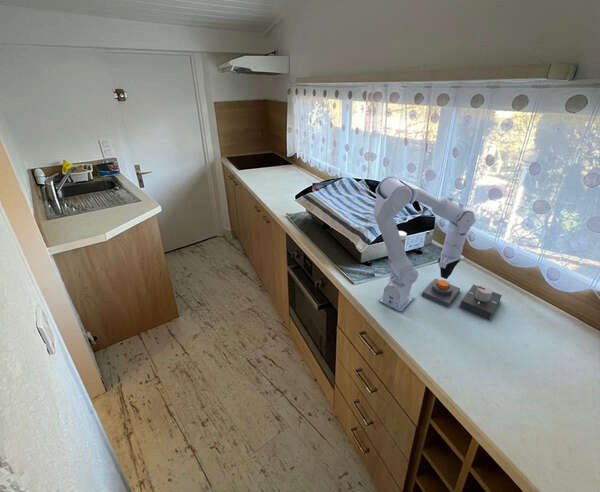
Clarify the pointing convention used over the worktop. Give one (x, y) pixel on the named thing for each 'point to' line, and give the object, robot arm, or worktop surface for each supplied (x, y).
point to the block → (441, 293)
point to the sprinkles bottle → (403, 237)
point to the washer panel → (480, 303)
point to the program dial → (483, 293)
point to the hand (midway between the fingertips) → (445, 276)
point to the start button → (443, 284)
